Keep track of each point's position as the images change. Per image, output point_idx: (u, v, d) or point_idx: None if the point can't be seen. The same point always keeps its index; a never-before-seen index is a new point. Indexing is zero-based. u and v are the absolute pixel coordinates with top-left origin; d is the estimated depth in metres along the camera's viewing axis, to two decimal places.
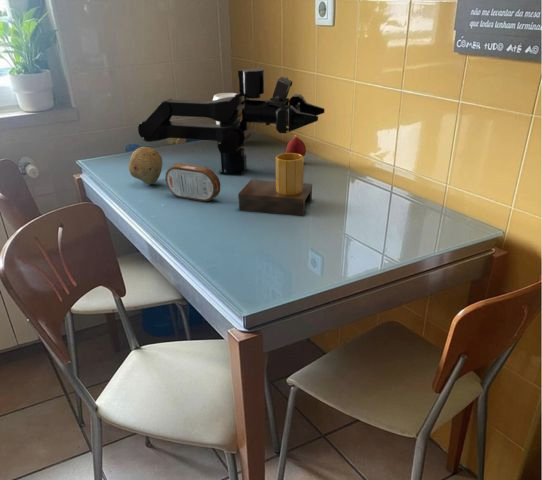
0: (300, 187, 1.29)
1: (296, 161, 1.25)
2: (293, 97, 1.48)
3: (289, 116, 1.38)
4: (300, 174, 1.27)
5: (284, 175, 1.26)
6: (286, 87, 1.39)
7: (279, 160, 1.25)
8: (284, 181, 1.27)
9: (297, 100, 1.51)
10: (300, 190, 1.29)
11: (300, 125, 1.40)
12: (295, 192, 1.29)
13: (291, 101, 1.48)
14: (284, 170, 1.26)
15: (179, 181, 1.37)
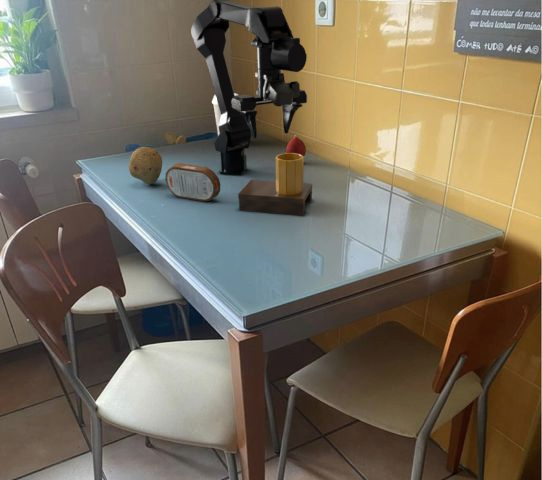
0: (300, 187, 1.29)
1: (296, 161, 1.25)
2: (294, 97, 1.35)
3: (243, 112, 1.32)
4: (300, 174, 1.27)
5: (284, 175, 1.26)
6: (274, 103, 1.29)
7: (279, 160, 1.25)
8: (284, 181, 1.27)
9: None
10: (300, 190, 1.29)
11: (246, 120, 1.36)
12: (295, 192, 1.29)
13: None
14: (284, 170, 1.26)
15: (179, 181, 1.37)
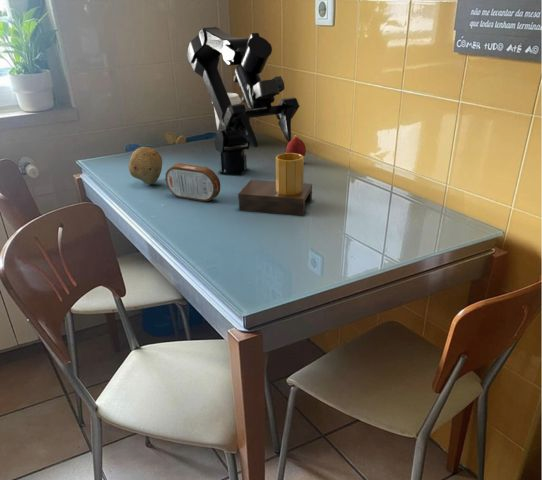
0: (300, 187, 1.29)
1: (296, 161, 1.25)
2: (284, 101, 1.32)
3: (235, 120, 1.29)
4: (300, 174, 1.27)
5: (284, 175, 1.26)
6: (260, 94, 1.26)
7: (279, 160, 1.25)
8: (284, 181, 1.27)
9: None
10: (300, 190, 1.29)
11: (243, 135, 1.32)
12: (295, 192, 1.29)
13: (282, 102, 1.33)
14: (284, 170, 1.26)
15: (179, 181, 1.37)
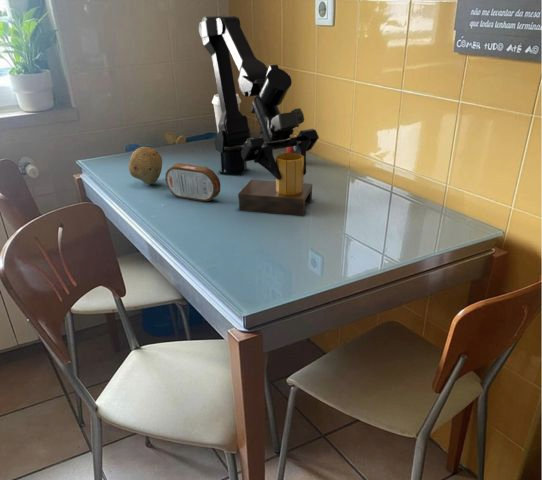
0: (300, 187, 1.29)
1: (296, 161, 1.25)
2: (303, 133, 1.29)
3: (258, 153, 1.26)
4: (300, 174, 1.27)
5: (284, 175, 1.26)
6: (280, 127, 1.22)
7: (279, 160, 1.25)
8: (284, 181, 1.27)
9: None
10: (300, 190, 1.29)
11: (266, 167, 1.28)
12: (295, 192, 1.29)
13: (301, 133, 1.30)
14: (284, 170, 1.26)
15: (179, 181, 1.37)
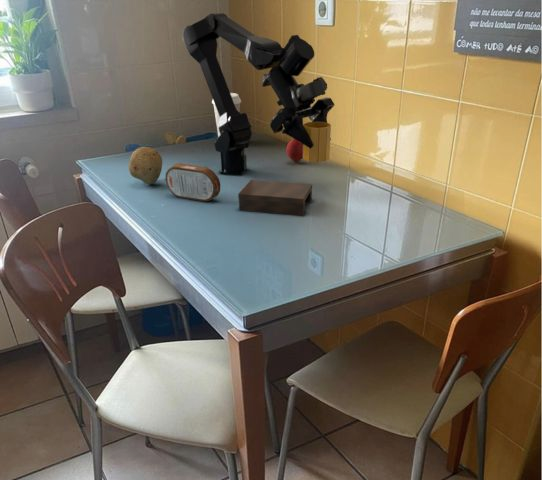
0: (328, 154, 1.34)
1: (327, 128, 1.29)
2: (322, 101, 1.33)
3: (290, 123, 1.28)
4: (329, 141, 1.32)
5: (316, 143, 1.30)
6: (310, 96, 1.26)
7: (311, 128, 1.29)
8: (316, 149, 1.31)
9: None
10: (328, 157, 1.34)
11: (295, 137, 1.31)
12: (325, 159, 1.33)
13: (318, 102, 1.34)
14: (316, 138, 1.29)
15: (179, 181, 1.37)
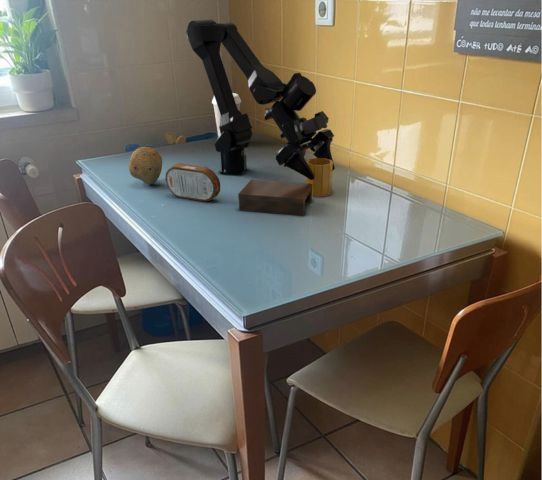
0: (331, 188, 1.41)
1: (330, 164, 1.36)
2: (323, 133, 1.40)
3: (292, 157, 1.33)
4: (331, 176, 1.39)
5: (320, 179, 1.37)
6: (314, 130, 1.32)
7: (315, 165, 1.35)
8: (319, 184, 1.38)
9: None
10: None
11: (296, 169, 1.36)
12: (328, 193, 1.40)
13: (319, 134, 1.40)
14: (320, 174, 1.36)
15: (179, 181, 1.37)
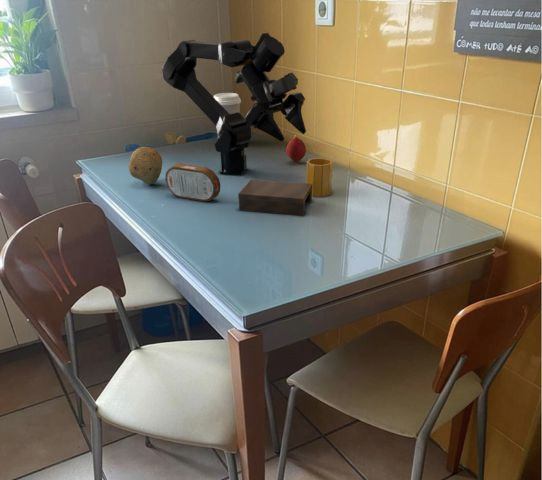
0: (331, 188, 1.41)
1: (330, 164, 1.36)
2: (293, 96, 1.40)
3: (261, 118, 1.33)
4: (331, 176, 1.39)
5: (320, 179, 1.37)
6: (283, 90, 1.32)
7: (315, 165, 1.35)
8: (319, 184, 1.38)
9: None
10: None
11: (266, 131, 1.36)
12: (328, 193, 1.40)
13: (290, 97, 1.41)
14: (320, 174, 1.36)
15: (179, 181, 1.37)
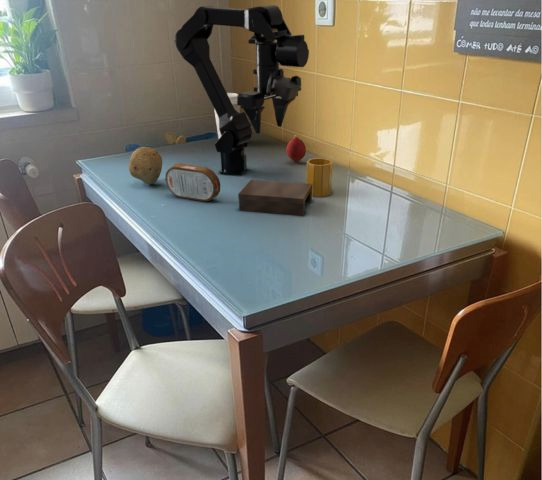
0: (331, 188, 1.41)
1: (330, 164, 1.36)
2: None
3: (251, 108, 1.35)
4: (331, 176, 1.39)
5: (320, 179, 1.37)
6: (283, 97, 1.35)
7: (315, 165, 1.35)
8: (319, 184, 1.38)
9: None
10: None
11: (249, 116, 1.39)
12: (328, 193, 1.40)
13: None
14: (320, 174, 1.36)
15: (179, 181, 1.37)
